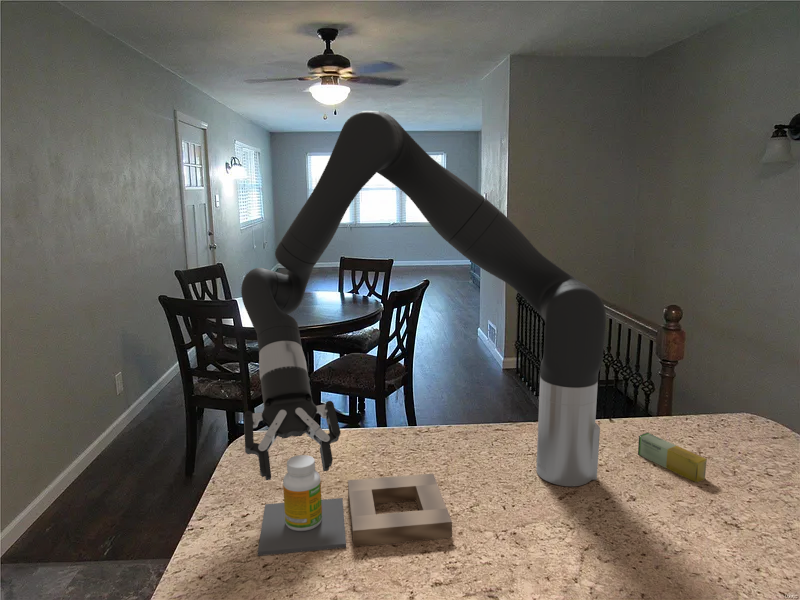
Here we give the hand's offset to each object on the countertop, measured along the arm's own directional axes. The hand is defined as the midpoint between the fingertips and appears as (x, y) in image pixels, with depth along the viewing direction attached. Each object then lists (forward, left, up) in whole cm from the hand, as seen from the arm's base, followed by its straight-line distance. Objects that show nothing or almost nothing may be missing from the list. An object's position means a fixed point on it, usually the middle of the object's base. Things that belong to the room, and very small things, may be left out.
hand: (298, 474), depth 87 cm
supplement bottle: (-1, +1, -7) cm, 7 cm away
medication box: (-64, -7, -8) cm, 65 cm away
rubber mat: (0, +2, -8) cm, 8 cm away
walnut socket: (-14, +1, -8) cm, 16 cm away
